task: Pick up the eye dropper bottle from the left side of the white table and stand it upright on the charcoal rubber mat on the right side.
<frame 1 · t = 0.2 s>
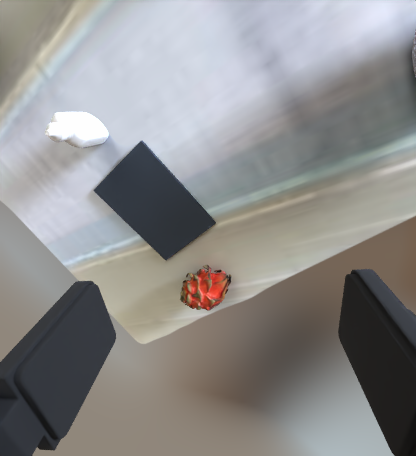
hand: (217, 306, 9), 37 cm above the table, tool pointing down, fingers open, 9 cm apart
eye dropper bottle: (94, 127, 43), on the table
mat: (155, 206, 48), on the table
dragon fruit: (207, 276, 55), on the table
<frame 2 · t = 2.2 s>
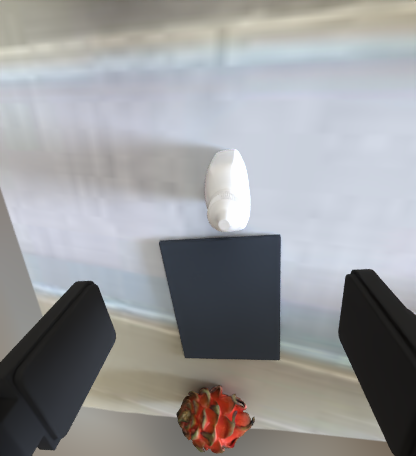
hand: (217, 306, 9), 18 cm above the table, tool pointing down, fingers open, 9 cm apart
eye dropper bottle: (230, 176, 26), on the table
mat: (225, 304, 33), on the table
dragon fruit: (217, 391, 41), on the table
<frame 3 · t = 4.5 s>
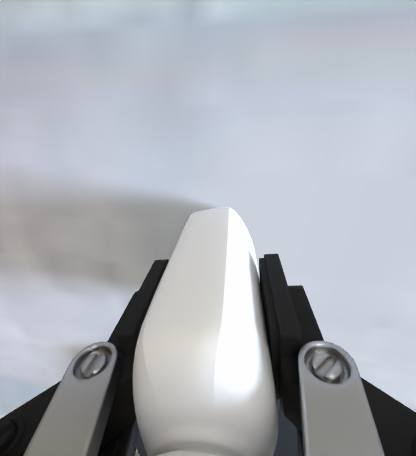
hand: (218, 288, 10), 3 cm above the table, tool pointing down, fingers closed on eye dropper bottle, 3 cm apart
eye dropper bottle: (221, 253, 13), on the table, touching gripper
mat: (217, 436, 20), on the table
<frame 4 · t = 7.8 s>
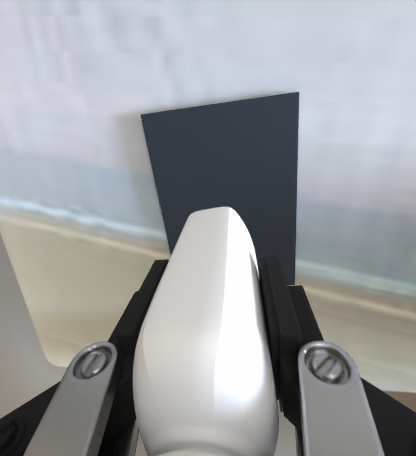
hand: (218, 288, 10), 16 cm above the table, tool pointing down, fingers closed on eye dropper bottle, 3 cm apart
eye dropper bottle: (221, 253, 13), point 14 cm above the table, touching gripper
mat: (227, 208, 26), on the table
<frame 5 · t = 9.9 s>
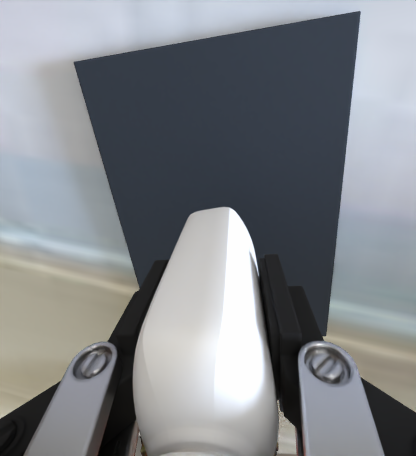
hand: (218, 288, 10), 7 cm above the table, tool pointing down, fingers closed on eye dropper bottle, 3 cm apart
eye dropper bottle: (221, 253, 13), point 4 cm above the table, touching gripper
mat: (224, 222, 17), on the table
when the fingers open (3 cm above the table, at t = 11.1 s): eye dropper bottle stays where it is, resting on mat.
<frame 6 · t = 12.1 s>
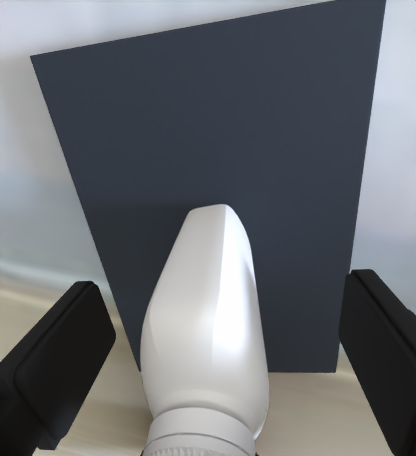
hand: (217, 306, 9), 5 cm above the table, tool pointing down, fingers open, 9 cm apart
eye dropper bottle: (219, 248, 14), resting on mat
mat: (218, 245, 14), on the table
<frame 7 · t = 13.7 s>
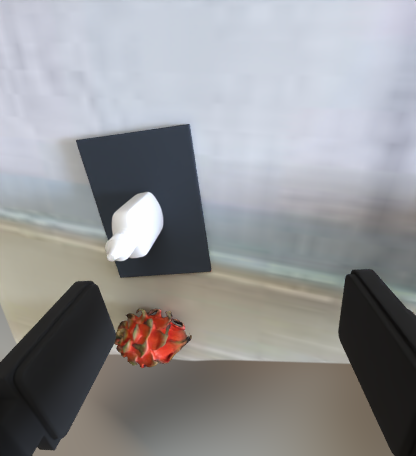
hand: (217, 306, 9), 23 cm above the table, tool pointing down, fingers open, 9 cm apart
eye dropper bottle: (150, 211, 33), resting on mat
mat: (150, 210, 33), on the table
dragon fruit: (159, 318, 41), on the table
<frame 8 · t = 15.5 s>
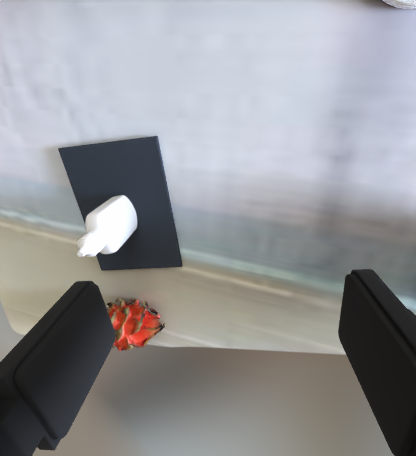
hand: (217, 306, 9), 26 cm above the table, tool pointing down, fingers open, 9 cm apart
eye dropper bottle: (125, 212, 37), resting on mat
mat: (126, 211, 37), on the table
dragon fruit: (138, 307, 46), on the table
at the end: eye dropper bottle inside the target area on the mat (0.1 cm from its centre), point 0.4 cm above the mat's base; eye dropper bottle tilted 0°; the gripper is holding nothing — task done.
